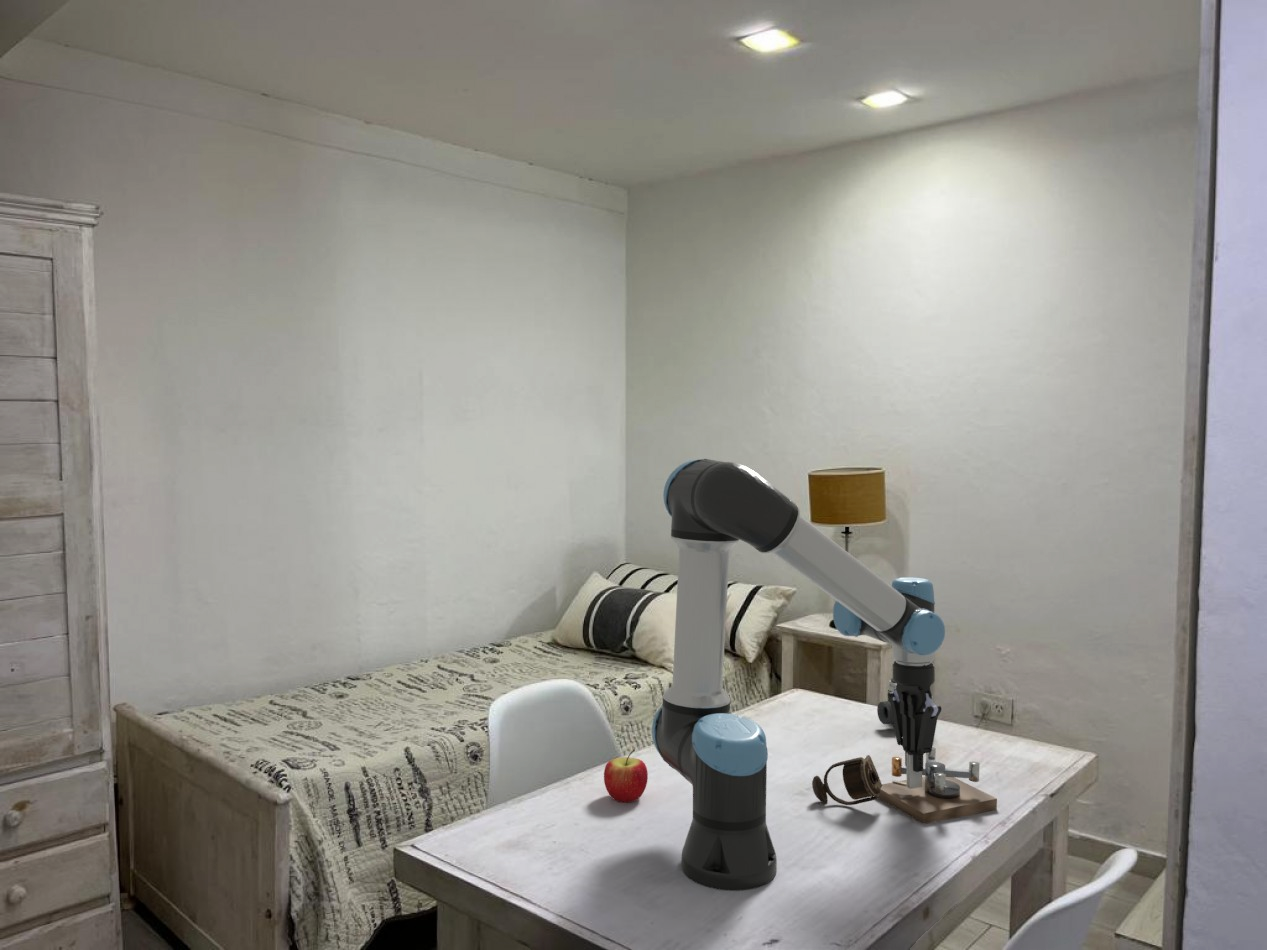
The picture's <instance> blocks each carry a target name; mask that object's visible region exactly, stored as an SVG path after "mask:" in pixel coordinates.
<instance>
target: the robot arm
mask: <svg viewBox="0 0 1267 950" xmlns="http://www.w3.org/2000/svg"><path fill="white" fill-rule="evenodd" d="M663 503H664V507H665V509H666V511H667V513H668V515H669V516H670V517H671V530H670V531H671V532H670V538H671V539H672V540H673V542H674V543H675V544H676V545H677V547H678V564H677V565H678V569H677V586H676V587H677V589H676V607H675V610H676V611H675V623H674V624H675V626H674V629H675V630H674V645H673V646H674V648H673V663H672V664H673V665H672V667H673V668H672V669H673V670H672V683H671V686H670V687H669V688H668V689H666V690H665V691H664V692H663V695H662V703H661V704H662V705H661V707H660V708H659V710H656V713H655V715H654V718H653V720H652V723H651V724H652V725H651V737H652V741H653V746H654V747H655V749H656V751H657V752H658V754H659V755H660V757H661V759H662V760H663V761H664V762H665V763H666V764H667V765H668V766H669V767H671V769H673V770H675V771H676V772H677V773H678V774H680V775H681V776H682V777H683V778H684V779H685V780H686V781H688V782H689V783H690V784H691V785H692V820H691V823H690V826H689V829H688V832H687V835H686V838H685V842H684V844H683V847H682V850H681V871H682V873H683V874H684V876H686V877H687V879H689V880H690V881H692V882H694V883H696V884H698V885H700V886H703V887H707V888H709V889H715V890H721V891H747V890H752V889H756V888H759V887H762V886H764V885H765V886H766V885H767V884H768V883H770V882H771V881H773V879H774V878H775V877H776V875H777V870H778V869H777V865H778V864H777V853H776V851H775V848H774V844H773V840H772V838H771V835H770V831H769V828H768V825H767V775H768V774H767V772H768V771H767V770H768V769H767V768H768V767H767V766H768V765H767V762H768V757H769V756H768V755H769V754H768V753H769V752H768V746H767V738H766V736H767V735H766V733H765V730H763V728H762V727H761V726H760V724H758V723H757V722H756V721H754V720H752V719H750V718H748V717H746V716H742V717H741V716H739V715H738V714H734V713H730V712H731V697H730V696H729V694H727V692H726V691H725V690H724V689H723V678H724V676H723V674H724V658H725V641H726V638H725V637H726V625H727V624H726V622H727V603H728V583H729V567H730V551H731V549H732V548H734V547H735V545H736V544H738V543H739V541H742V542H745V543H746V544H748V545H749V546H751V547H753V548H754V549H755V550H756V551H758V552H759V553H761V554H769V553H771V554H772V555H774V556H776V557H777V559H779V560H781V561H782V562H784V563H785V564H786V565H788V567H790V568H792V569H793V570H794V571H795V572H797V573H799V574H800V575H801V576H802V577H804V578H805V579H806V580H808V581H809V582H811V583H812V584H813V585H814V586H816V587H817V588H819V589H820V590H821V591H823V592H824V593H825V594H827V595H828V596H830V597H831V598H832V599H833V600H835V602H834V604H833V608H832V611H833V612H832V619H833V622H834V623H833V624H834V626H835V629H837V631H838V632H839V633H840V634H841V635H843V636H845V637H855V638H857V637H860V636H867V637H870V638H873V639H875V640H878V641H880V642H883V643H886V644H889V645H892V646H891V654H892V655H891V658H892V659H893V660H894V661H893V662H892V678H893V681H894V682H896V683H897V685H896V690H895V691H894V692H889V693H888V692H887V700H888V699H889V701H890V704H891V708H892V715H893V721H894V724H893V726H894V732H895V739H896V742H897V745H898V746H902V750H903V751H904V752H905V753H904V756H905V757H904V759H905V761H904V764H905V765H904V766H906V772H907V774H906V780H907V788H909V789H913V788H919V787H922V777H923V775H922V771H923V767H924V754H926V753H929V752H931V751H932V747H934V740H935V735H936V728H937V723H938V718H939V716H940V714H941V712H942V707H941V705H939V704H937V705H936V704H935V702H934V701H933V700H931V699H932V696H933V695H932V691H931V686H932V685H934V683H935V664H934V663H933V662H934V661H935V653H936V652H937V651H938V650H939V649H940V647H941V646H942V644H943V642H944V640H945V636H946V626H945V624H944V621H943V619H942V618H941V617H940V616H939V615H938V614H937V613H935V605H936V602H935V591H934V584H933V583H932V582H931V581H930V579H927V578H926V579H925V578H923V577H899V578H894V579H893V580H892V582H891V584H889V583H888V582H887V581H885V580H884V579H882V577H880V576H879V575H878V574H876V573H875V572H874V571H873V570H871V569H870V568H868V567H867V566H866V565H865V564H864V563H862V562H861V561H860V560H859V559H857V558H855V556H853V555H852V554H851V553H849V551H846V549H844V548H843V547H841V546H840V545H839V544H838V543H837V542H835V541H834V540H832V539H831V538H830V537H829V536H828V535H826V534H825V533H824V532H823V531H821V530H819V529H818V528H817V527H816V526H815V525H814V524H812V523H811V522H809V521H808V520H807V519H806V518H804V517H803V516H801V515H800V514H801V513H800V512H801V511H800V507H799V505H798V504H796V503H795V502H794V501H793V500H792V499H790V498H789V497H788V496H787V495H785V494H784V493H783V492H781V490H779V489H778V488H777V487H776V486H774V485H773V484H772V483H770V482H769V481H768V480H767V479H765V477H763V476H762V475H761V474H759V473H758V472H756V471H754V470H753V469H751V468H750V467H748V466H746V465H744V464H740V463H738V462H732V461H731V462H730V461H720V460H716V459H710V458H709V459H708V458H702V459H698V458H697V459H693V460H688V461H685V462H683V463H682V464H680V465H678V466H677V467H676V468H675V469H674V470H673V471H672V472H671V473H670V474H669V476H668V478H667V479H666V482H665V484H664V488H663Z"/></svg>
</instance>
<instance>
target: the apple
mask: <svg viewBox="0 0 1267 950" xmlns="http://www.w3.org/2000/svg"><path fill="white" fill-rule="evenodd" d="M635 751H636V749H635V748H634V749H632V751H630V753H629V755H628V756H627V757H624V756H623V757H622V756H621V757H616V758H613V759H611V760H609V761H608V762H607V763H606V765H605V767H604V771H603V783H604V786H605V789H606V791H607V793H608V795H609V796H610V797H611V799H613V801H616V802H619V803H632V802H635V801H637V800H638V799H640V798H641V797H642V795H643V794H644V792H645V790H646V788H647V785H648V778H649V777H648V776H649V775H648V774H649V773H648V768H647V766H646V763H645V762H644V761H643V760H641V759H639V758H634V757H630V756H631V755H632V754H633V753H634V752H635Z"/></svg>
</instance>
